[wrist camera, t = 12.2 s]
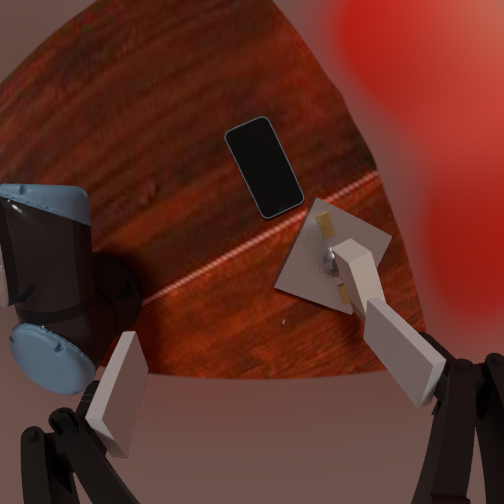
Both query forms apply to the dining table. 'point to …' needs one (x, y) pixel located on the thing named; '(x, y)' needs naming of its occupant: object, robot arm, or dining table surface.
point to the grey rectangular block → (358, 275)
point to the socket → (325, 254)
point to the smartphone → (264, 167)
